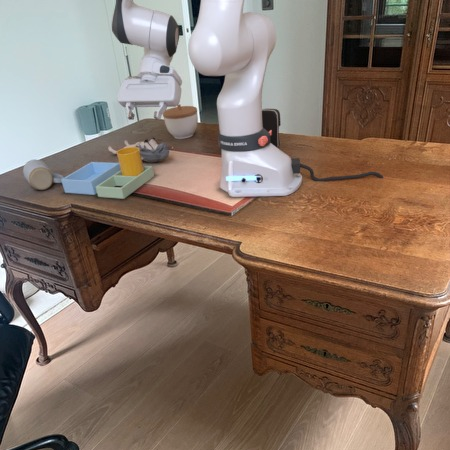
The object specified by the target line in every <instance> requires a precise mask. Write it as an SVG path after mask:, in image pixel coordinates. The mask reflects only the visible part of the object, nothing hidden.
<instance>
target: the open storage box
mask: <svg viewBox="0 0 450 450" xmlns="http://www.w3.org/2000/svg"><path fill="white" fill-rule="evenodd" d="M119 171H120V166H119V162H105V161H104V162H103V161H90V162H88V163H87V164H85V165H84V166H81V167H80V168H78V169H77V170H75V171H73V172H72V173H70V174H68V175H66V176H64V178H63V179H61V182H62V183H61V184H62V187H63V190H64V193H66V194H78V195H79V194H80V195H93V196H96V195H98V194H97V191H96V186H97V185H99V184H100V183H102V182H103V181H105V180H107V179H108V178H110V177H111V176H113V175H114V174H116V173H117V172H119Z"/></svg>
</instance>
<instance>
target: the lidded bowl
mask: <svg viewBox="0 0 450 450" xmlns="http://www.w3.org/2000/svg"><path fill="white" fill-rule="evenodd" d="M162 117H163V120H164V125H165V127H166V130H167V131H168V133H169V134H170V135H171V136H172V137H173V138H174V139H177V140H181V139H189V138H191V137H193V136H194V133H195V132H196V130H197V128H198V123H199V117H198V108H197V107H196V106H193V105H181V104H180V103H179V104H178V105H177V106H176V107H169V108H167V109H166V111H165V112H164V113H163V114H162Z"/></svg>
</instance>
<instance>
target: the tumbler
mask: <svg viewBox="0 0 450 450" xmlns="http://www.w3.org/2000/svg"><path fill="white" fill-rule="evenodd" d="M116 151H117V152H116V154H115V155H116V158H117V163H119V166H120V170H121V174H122V176H138V175H139V174H141V173H142V172H144V168H143V166H144V163H143V160H142V159H141V154H140V149H139V148H138V147H127V148H124V147H123V148H120V149H118V150H116Z"/></svg>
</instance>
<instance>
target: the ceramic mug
mask: <svg viewBox="0 0 450 450" xmlns="http://www.w3.org/2000/svg"><path fill="white" fill-rule="evenodd" d="M22 173H23V177H24V178H25V180H26V181H27V183H29V185H30V186H31V187H32V188H34V189H35V190H38V191H46V190H48V189H50V188H51V186H53V184H62V182H61V179H63V178H65V176H63V175H62V174H59V173H56V172H54V171H53V172H52V170H51V169H50V167H49V166H48V165H47V164H46V163H45V162H44V161H43V160H41V159H40V160H39V159H36V158H35V159H30V160H28V161H27V162H26V163H25V164H24V166H23V169H22Z"/></svg>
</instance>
